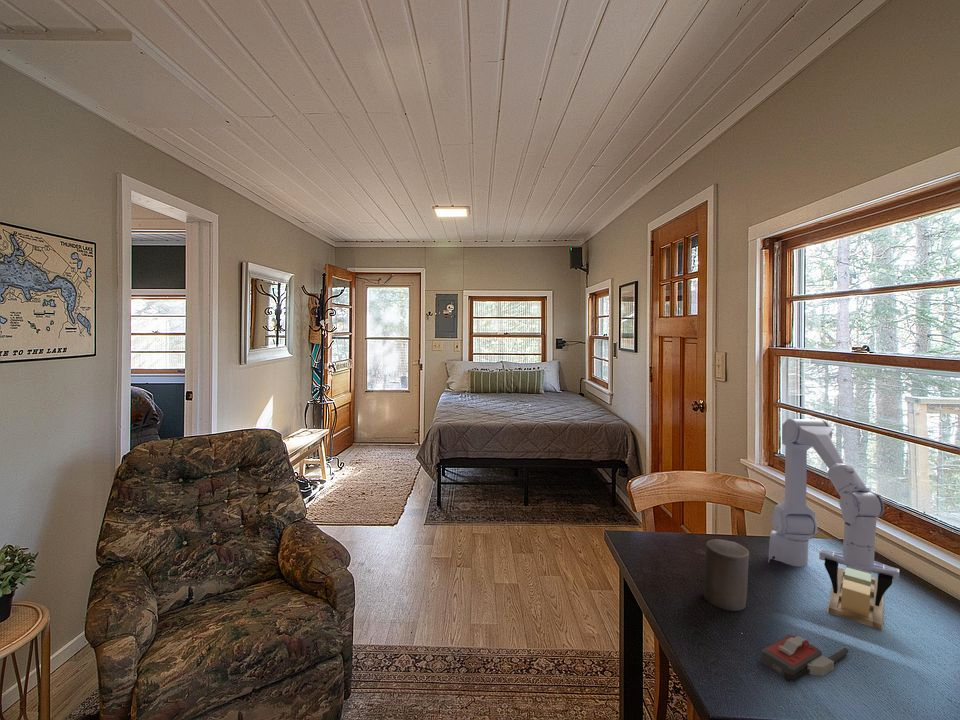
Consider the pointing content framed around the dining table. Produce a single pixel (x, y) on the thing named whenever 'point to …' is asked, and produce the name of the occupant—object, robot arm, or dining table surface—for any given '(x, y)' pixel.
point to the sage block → (858, 576)
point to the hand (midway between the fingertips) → (855, 597)
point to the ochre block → (856, 598)
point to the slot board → (835, 608)
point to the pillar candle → (726, 574)
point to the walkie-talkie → (798, 658)
